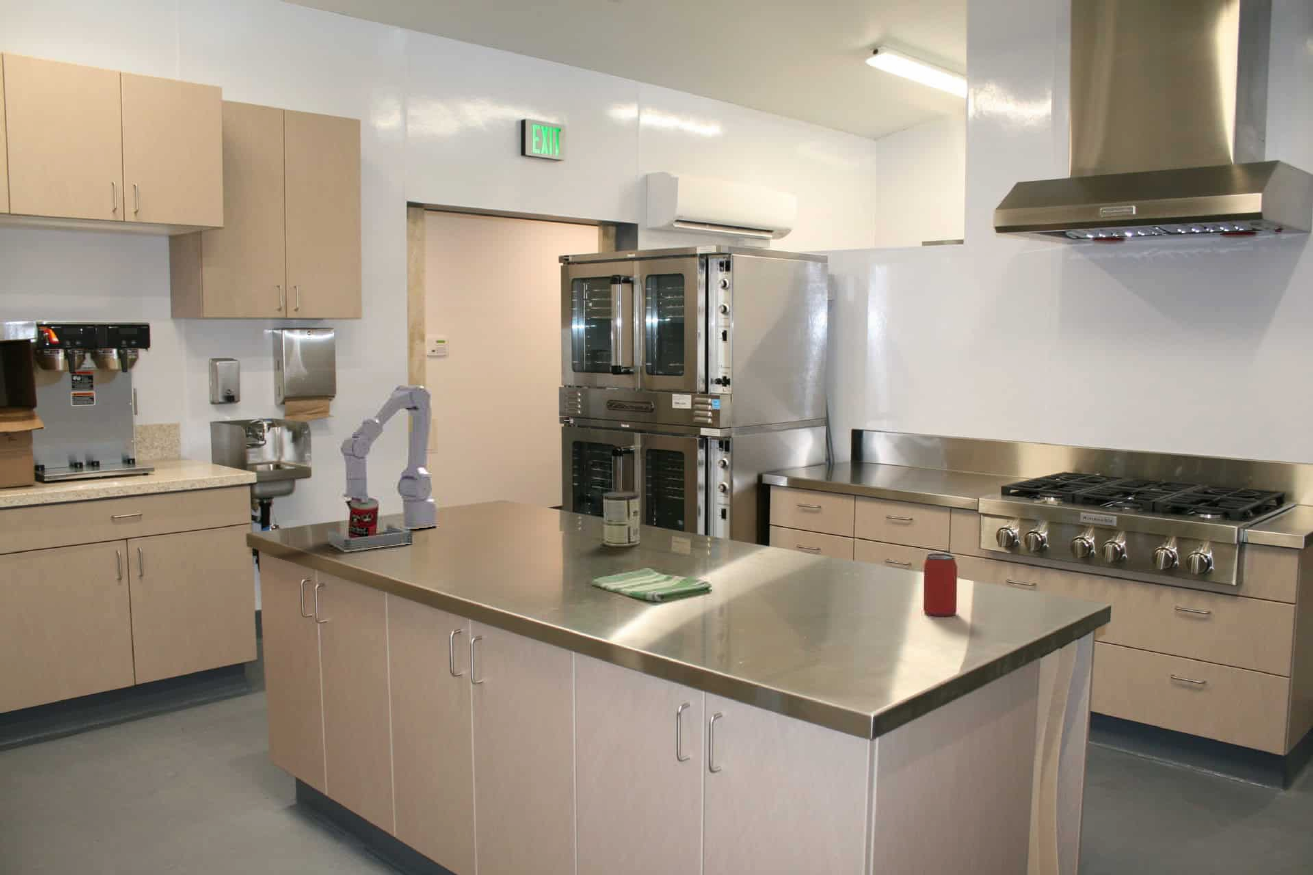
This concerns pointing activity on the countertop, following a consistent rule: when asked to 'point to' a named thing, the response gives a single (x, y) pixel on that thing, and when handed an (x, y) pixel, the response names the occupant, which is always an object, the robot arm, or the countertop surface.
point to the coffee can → (621, 518)
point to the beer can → (940, 585)
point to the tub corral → (372, 539)
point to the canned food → (363, 518)
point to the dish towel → (652, 585)
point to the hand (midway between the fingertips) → (358, 524)
